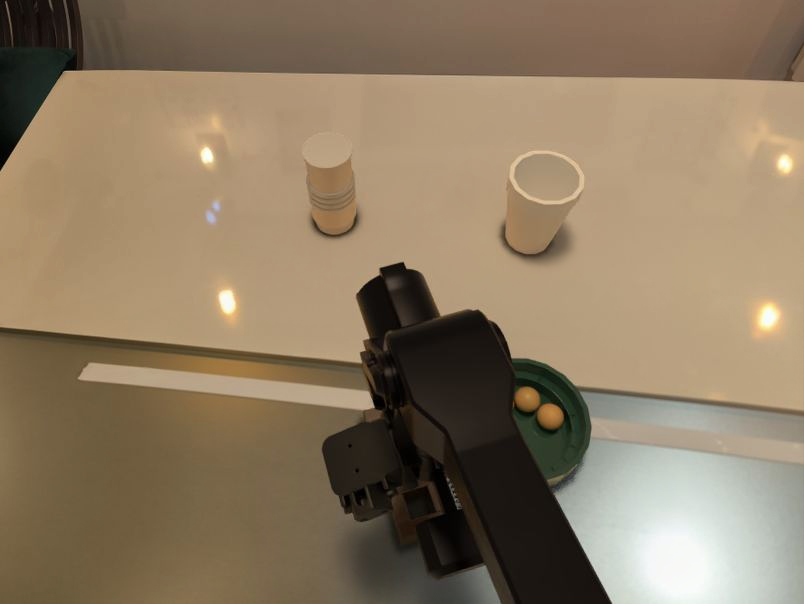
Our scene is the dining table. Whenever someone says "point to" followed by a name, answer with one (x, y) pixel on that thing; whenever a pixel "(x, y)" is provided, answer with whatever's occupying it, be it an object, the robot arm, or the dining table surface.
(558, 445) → the bowl
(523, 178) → the foam cup
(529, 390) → the bead
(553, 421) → the bead
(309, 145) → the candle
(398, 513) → the rack
